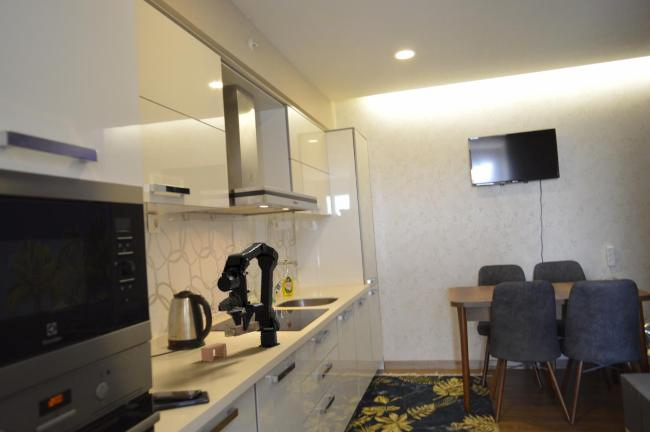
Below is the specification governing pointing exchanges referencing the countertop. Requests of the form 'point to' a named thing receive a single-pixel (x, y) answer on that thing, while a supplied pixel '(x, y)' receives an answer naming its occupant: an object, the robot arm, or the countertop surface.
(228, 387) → the countertop surface
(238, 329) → the tan long bar
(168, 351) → the countertop surface
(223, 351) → the pink bridge block
